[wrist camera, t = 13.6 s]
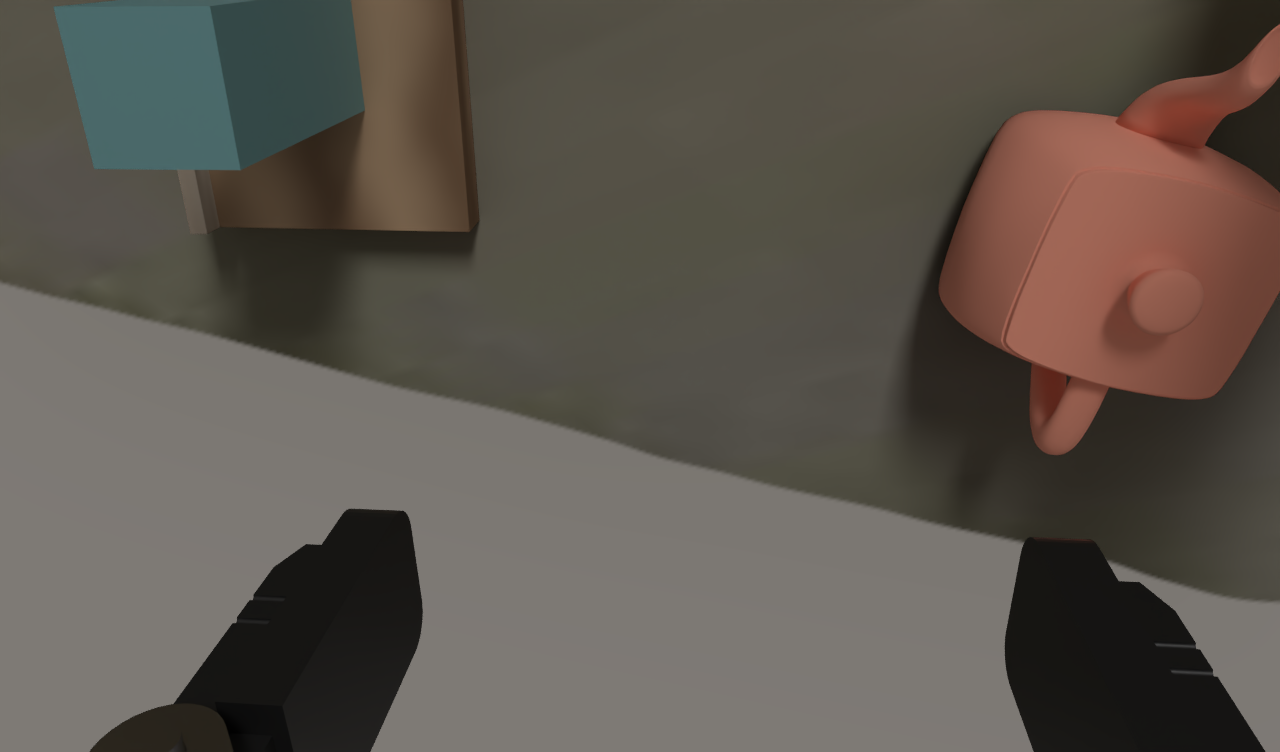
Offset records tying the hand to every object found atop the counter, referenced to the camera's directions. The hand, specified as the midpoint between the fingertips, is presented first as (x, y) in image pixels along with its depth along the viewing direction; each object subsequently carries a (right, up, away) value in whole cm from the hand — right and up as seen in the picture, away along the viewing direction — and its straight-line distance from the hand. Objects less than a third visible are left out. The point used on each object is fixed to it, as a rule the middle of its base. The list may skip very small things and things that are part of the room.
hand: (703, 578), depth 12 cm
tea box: (-16, +17, +28) cm, 36 cm away
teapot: (+19, +10, +31) cm, 38 cm away
